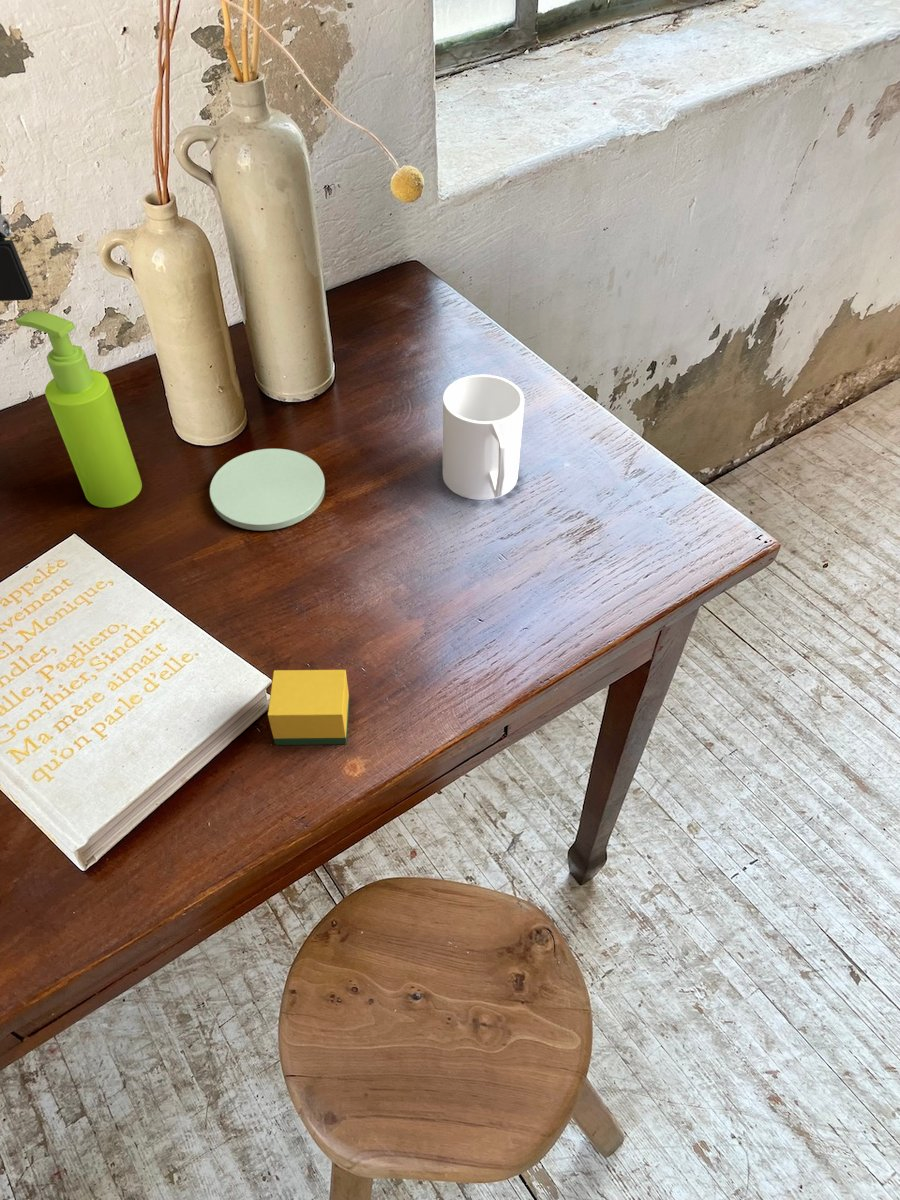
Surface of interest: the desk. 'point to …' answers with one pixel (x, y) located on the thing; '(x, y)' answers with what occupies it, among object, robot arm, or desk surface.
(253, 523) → the plate
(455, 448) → the cup
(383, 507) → the desk surface
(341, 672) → the sponge
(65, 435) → the soap dispenser
